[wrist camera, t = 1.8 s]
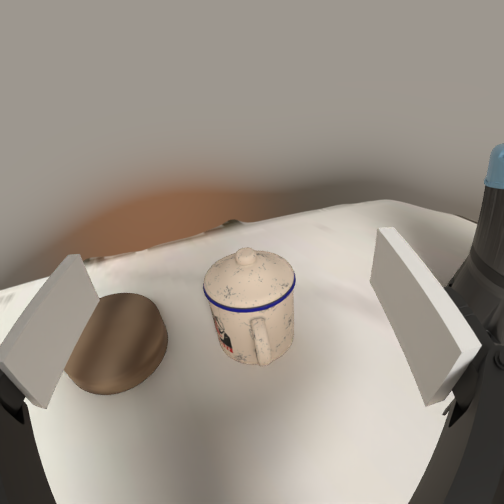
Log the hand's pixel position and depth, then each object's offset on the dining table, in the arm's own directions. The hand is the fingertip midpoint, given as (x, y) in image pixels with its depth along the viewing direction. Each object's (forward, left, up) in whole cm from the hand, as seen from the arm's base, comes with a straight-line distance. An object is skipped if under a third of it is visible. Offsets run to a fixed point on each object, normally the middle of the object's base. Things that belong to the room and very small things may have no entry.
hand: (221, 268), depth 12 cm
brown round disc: (+18, -12, -19) cm, 29 cm away
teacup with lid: (0, -12, -19) cm, 22 cm away
